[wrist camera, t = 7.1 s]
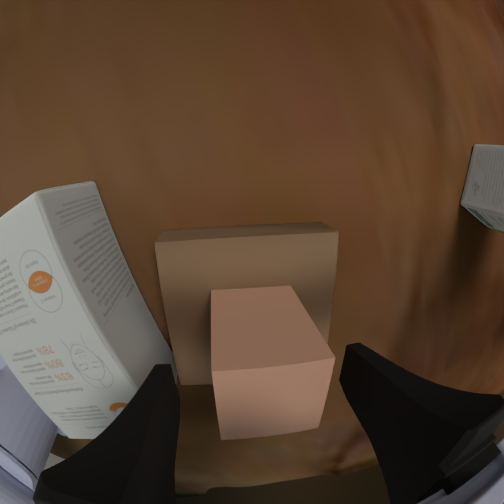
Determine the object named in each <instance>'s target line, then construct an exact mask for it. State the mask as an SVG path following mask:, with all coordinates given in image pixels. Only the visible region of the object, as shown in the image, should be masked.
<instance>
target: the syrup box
mask: <svg viewBox="0 0 504 504" xmlns="http://www.w3.org/2000/svg"><path fill="white" fill-rule="evenodd" d="M460 204H461V205H462V206H463V207H465V208H466V209H467V210H468V211H469V212H470V213H471V214H473V215H474V216H475V217H476V218H477V219H478V220H480V221H481V222H482V223H483V224H484V225H486V226H487V227H488V228H490V229H493V230H496V231H499V232H502V233H504V145H485V144H476V145H474V147H473V152H472V156H471V160H470V164H469V169H468V173H467V178H466V182H465V187H464V191H463V195H462V199H461V203H460Z"/></svg>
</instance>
